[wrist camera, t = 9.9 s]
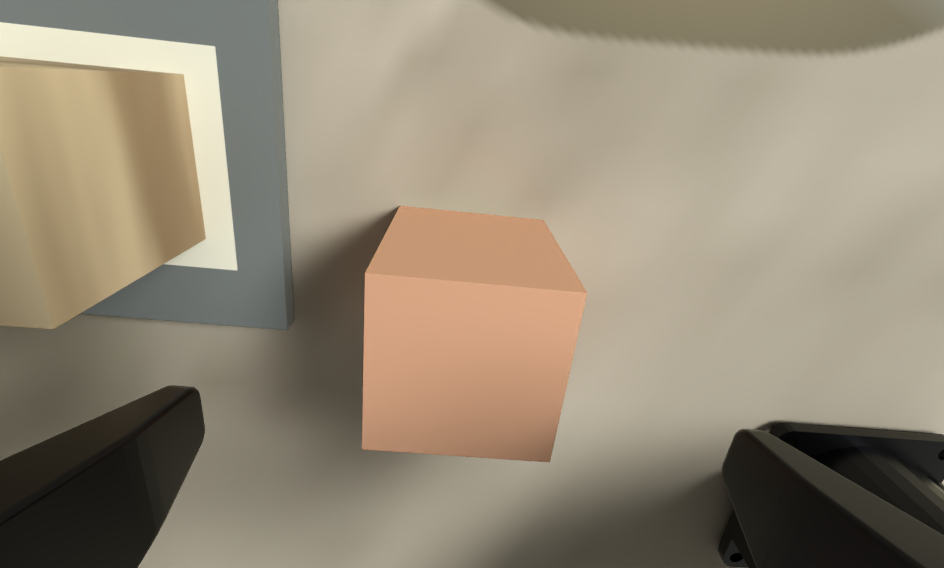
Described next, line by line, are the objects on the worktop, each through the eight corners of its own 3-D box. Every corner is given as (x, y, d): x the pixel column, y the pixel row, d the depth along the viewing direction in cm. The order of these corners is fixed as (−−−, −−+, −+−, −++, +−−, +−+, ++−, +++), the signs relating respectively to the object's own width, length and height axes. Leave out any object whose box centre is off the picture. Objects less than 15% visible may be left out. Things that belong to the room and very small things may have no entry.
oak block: (183, 74, 11) (-25, 64, 6) (205, 238, 12) (53, 329, 8) (3, 56, 11) (-349, 33, 6) (48, 226, 12) (-204, 311, 8)
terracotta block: (543, 219, 13) (587, 292, 8) (522, 343, 15) (549, 462, 10) (399, 205, 13) (364, 272, 8) (394, 332, 14) (361, 449, 10)
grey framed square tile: (276, -31, 11) (265, -38, 10) (294, 320, 14) (287, 330, 13) (-100, -78, 10) (-133, -87, 10) (15, 298, 14) (-4, 307, 13)
